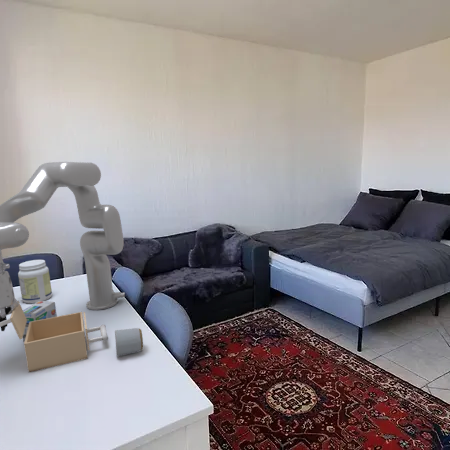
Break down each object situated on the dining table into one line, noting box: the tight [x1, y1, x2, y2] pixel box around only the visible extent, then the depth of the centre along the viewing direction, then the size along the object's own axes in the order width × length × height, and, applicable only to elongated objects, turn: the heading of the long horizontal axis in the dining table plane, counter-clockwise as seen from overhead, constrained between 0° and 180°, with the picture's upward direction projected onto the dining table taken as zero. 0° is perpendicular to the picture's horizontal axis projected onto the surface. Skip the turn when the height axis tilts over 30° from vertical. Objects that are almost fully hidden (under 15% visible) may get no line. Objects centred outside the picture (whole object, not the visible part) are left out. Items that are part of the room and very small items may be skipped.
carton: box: [23, 311, 109, 373], centre depth 115 cm, size 23×16×9 cm
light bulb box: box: [22, 300, 58, 343], centre depth 126 cm, size 11×7×11 cm, turn 168°
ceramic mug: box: [114, 327, 144, 357], centre depth 114 cm, size 11×8×8 cm
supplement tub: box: [17, 259, 53, 304], centre depth 161 cm, size 12×12×17 cm
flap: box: [0, 300, 27, 340], centre depth 107 cm, size 7×14×6 cm
